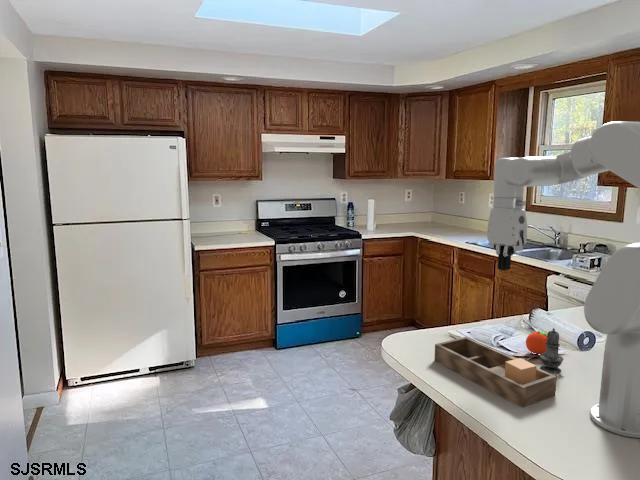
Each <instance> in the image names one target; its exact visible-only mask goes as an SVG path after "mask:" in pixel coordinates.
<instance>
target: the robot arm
mask: <svg viewBox="0 0 640 480" xmlns="http://www.w3.org/2000/svg"><path fill="white" fill-rule="evenodd" d="M606 172H611V173H612V174H614V175H617V176H618V177H619V178H621V179H623V180H624V181H625V182H627V183H629V184H630V185H633V186H634V187H636V188H637V189H639V190H640V121H624V120H623V121H621V120H617V121H610V122H607V123H604V124H603V125H601V126H599V127H598V128H596V129H595V131H594V132H592V134H591V135H589V136H587V137H583V138H580V139H578V140H576V141H575V142H574V143H573V145H572V146H571V148H570V151H568V152H564V153H561V154H558V155H553V156H524V157H501V158H498V159H497V160H496V161H495V165H494V182H493V183H494V184H493V200H492V207H491V210H490V212H489V217H488V222H487V223H488V224H487V241H488V246H489V247H491V248H493V249H494V250H495V253H496V255H497V256H498V257H497V270H501V271H508V270H510V269H511V261H512V256H514V254H515V253H516V252H522V251H524V247H523V246H525V245H527V240H528V221H527V219H528V218H527V212H526V210H525V209H523V207H525V206H526V203H527V202H526V200H524V188H529V187H530V188H531V187H550V186H558V185H561V184H566V183H570V182H575V181H578V180H582V179H585V178H588V177H590V176H592V175H596V174H601V173H606ZM583 305H584V306H583V314H584V319H585V321H586V323H587V324H588V325H589V327H591V329H593V330H594V331H595V332H598V333H600V334H603V335H606V338H605V344H604V352H603V359H602V360H603V361H602V370H601V379H600V381H601V382H600V391H599V398H598V399H599V400H598V403H597V404H595V405H592V407H591V408H590V410H589V415H590V419H591V420H592V421H593V422H594V423H595V424H596V425H598V426H599V427H601V428H602V429H604V430H607V431H609V432H611V433H613V434H617V435H619V436H620V435H621V436H623V437H629V438H635V439H640V242H634V243H629V244H626V245H624V246H622V247H619V248H618V249H617V250H615V252H613V253H612V254H611V255H610V257H609V258H608V259H607V261H606V262H605V264H604V266H603V267H602V269H601V271H600V273H599V274H598V275H597V278H596V280H595V282H594V283H593V284H592V286H591V288H590V290H589V292H588V293H587V296H586V297H585V301H584V304H583Z"/></svg>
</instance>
